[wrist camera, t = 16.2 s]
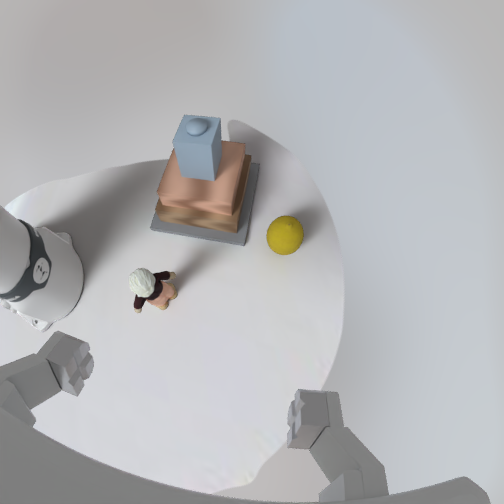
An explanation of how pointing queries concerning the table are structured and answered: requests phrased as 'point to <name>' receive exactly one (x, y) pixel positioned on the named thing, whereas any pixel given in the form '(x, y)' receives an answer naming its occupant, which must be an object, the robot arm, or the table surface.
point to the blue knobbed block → (198, 147)
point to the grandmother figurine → (152, 288)
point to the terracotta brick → (206, 192)
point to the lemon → (285, 235)
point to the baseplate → (210, 233)
